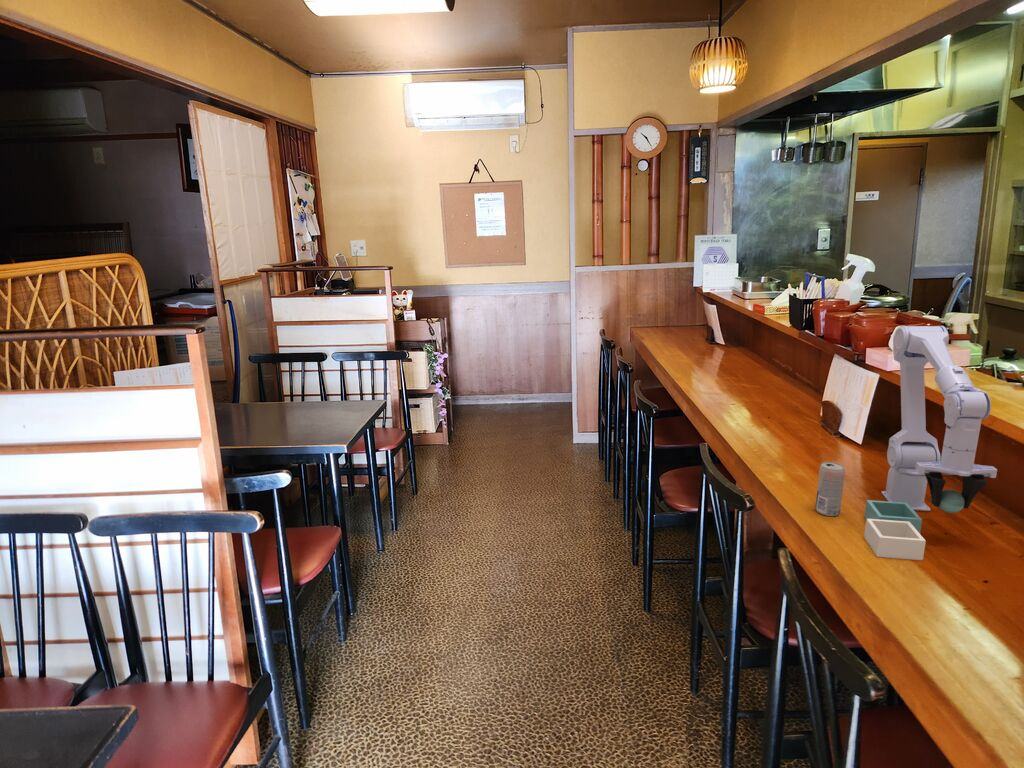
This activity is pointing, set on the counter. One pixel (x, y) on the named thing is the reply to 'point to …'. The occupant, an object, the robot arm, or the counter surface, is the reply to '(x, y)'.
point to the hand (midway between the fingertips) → (949, 505)
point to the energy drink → (830, 489)
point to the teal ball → (951, 501)
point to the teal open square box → (892, 512)
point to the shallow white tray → (894, 539)
